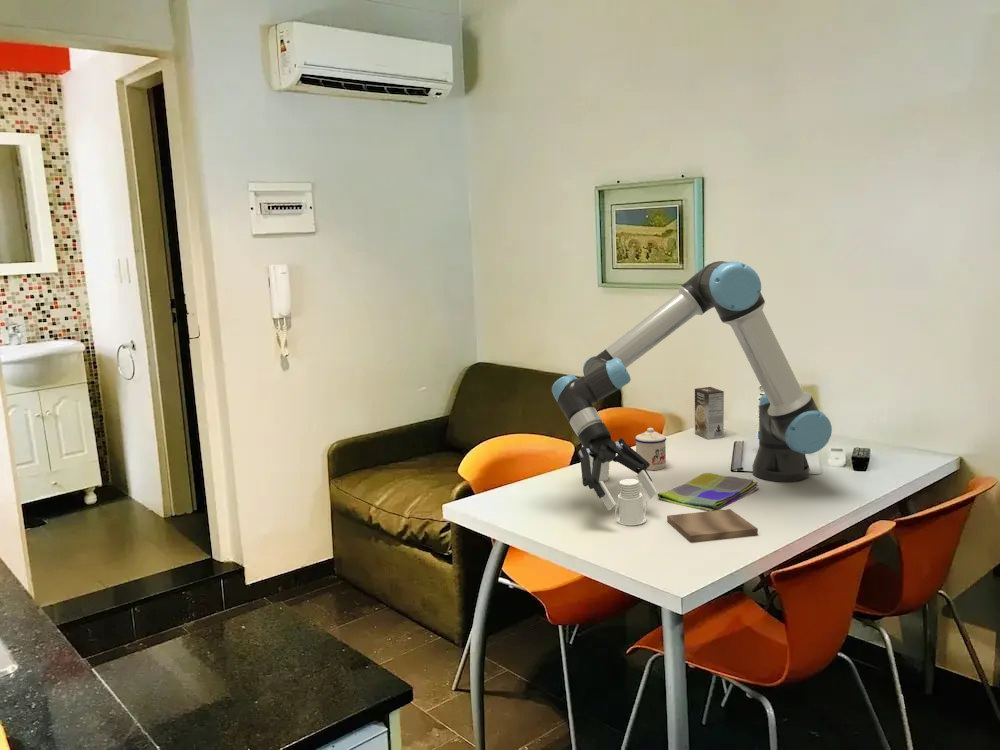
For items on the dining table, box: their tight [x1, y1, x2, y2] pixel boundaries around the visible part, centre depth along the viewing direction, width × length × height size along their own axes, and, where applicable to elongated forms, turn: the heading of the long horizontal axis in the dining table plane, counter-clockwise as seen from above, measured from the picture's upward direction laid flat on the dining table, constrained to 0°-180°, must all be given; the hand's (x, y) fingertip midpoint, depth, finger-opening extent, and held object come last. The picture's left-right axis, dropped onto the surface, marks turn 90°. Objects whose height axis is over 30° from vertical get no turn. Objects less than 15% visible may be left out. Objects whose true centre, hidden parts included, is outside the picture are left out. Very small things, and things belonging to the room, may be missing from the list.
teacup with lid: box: [634, 427, 667, 471], centre depth 239 cm, size 12×9×12 cm
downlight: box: [614, 478, 648, 527], centre depth 192 cm, size 8×7×10 cm
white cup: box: [581, 444, 610, 482], centre depth 228 cm, size 8×8×10 cm
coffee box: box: [694, 386, 725, 440], centre depth 271 cm, size 9×6×16 cm
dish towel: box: [656, 472, 759, 512], centre depth 211 cm, size 18×24×3 cm
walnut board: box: [666, 508, 759, 543], centre depth 186 cm, size 16×14×2 cm
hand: (633, 501), depth 191 cm, fingers open, 13 cm apart
